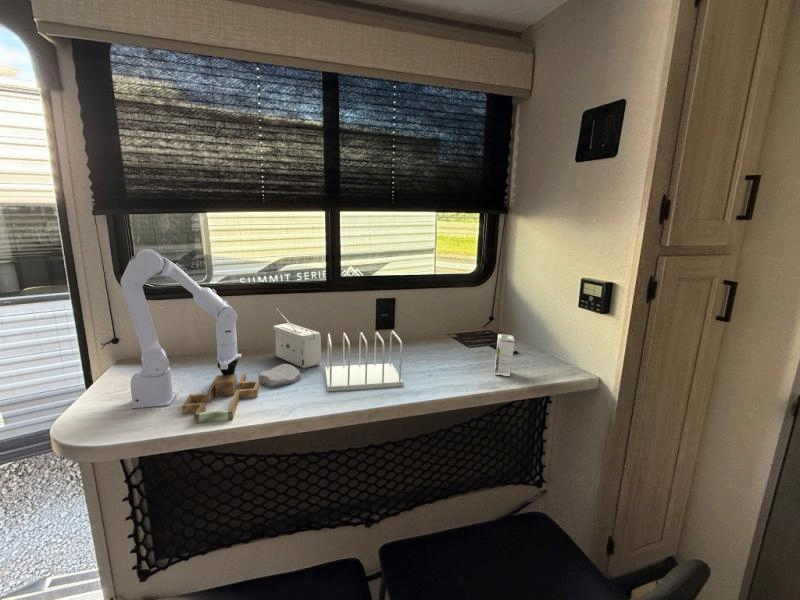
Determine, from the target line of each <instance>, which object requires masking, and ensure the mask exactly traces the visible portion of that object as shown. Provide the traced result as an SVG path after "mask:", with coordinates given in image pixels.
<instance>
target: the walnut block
mask: <svg viewBox="0 0 800 600" xmlns="http://www.w3.org/2000/svg"><path fill="white" fill-rule="evenodd" d="M218 375H219V377H218V379H217V381H216V383H215V387H216V392H215V397H216V398H219V397H221V398H222V397H231V396H232V397H234V395H235V392H236V390H238V383H237V382H238V380H237V379H238V378H237V374H235V373H234V374H233V375H221V374H218Z"/></svg>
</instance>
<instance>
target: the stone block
mask: <svg viewBox="0 0 800 600" xmlns="http://www.w3.org/2000/svg"><path fill="white" fill-rule="evenodd" d="M301 378H302V377H301V372H300V370H299V369H298V368H297V367H295V366H293V365H291V364H290V363H289V364H288V363H283V364H279V365H277V366H275V367H273V368H272V369H270V370H262V371H260V373H259V374H258V378H257V379H258V381H260V384H263V385H265V386H267V387H269V388H274V387H275V388H276V387H279V386H285V385H289V384H293V383H297V382H298V381H300V380H301Z"/></svg>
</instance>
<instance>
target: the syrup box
mask: <svg viewBox="0 0 800 600" xmlns="http://www.w3.org/2000/svg"><path fill="white" fill-rule="evenodd" d="M514 349H515V337H514V335H510V334H504V333H503V334H502V333H500V334H497V341H496V349H495V358H494V359H495V361H494V369H495V372H494V374H495V373H511V374H512V367H513V356H514V351H515V350H514Z"/></svg>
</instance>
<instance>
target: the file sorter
mask: <svg viewBox="0 0 800 600" xmlns="http://www.w3.org/2000/svg"><path fill="white" fill-rule="evenodd" d="M393 335H394V336H395V338H396V339H397V341H398V342H399V346H400V348H399V349H400V351H399V352H400V353H399V369H398V371H397V369H396V368H395V366H394V365H393V363H392V361H391V360H392V344H393V343H392V342H393ZM377 337H378V339H379V340H380V341H381V344H382V363H377V359H376V358H377ZM358 338H359V343H358V344H359V345H358V364H353V365H352V364H351V344H350V340H349V338H348V336H347V334H346V333H345V332H343V333H342V365H335V366H334V365H332V364H333V359H332V358H333V353H332V352H333V349H332V348H333V345H332V339H331V334H330V333H328V334H327V351H326V352H327V356H326V357H327V361H326V362H327V363H326V364H327V365H326V366H325V367H324V374H325V382H326V391H327V392H335V391H336V392H337V391H339V392H340V391H353V390H367V389H369V390H371V389H383V388H384V387H385V388H397V387H396V386H399V387H403V386H404V382H403V379H402V362H403V361H402V360H403V342H402V340H401V338H400V337H399V336H398V334H397V333H396V332H395V331H394V330H392V331H390V335H389V356H388V357H389V358H388V359H389V360H388V363H385V352H386V351H385V350H386V346H385V341H384V339H383V337H382V336H381V335H380V334H379V331H376V332H375V333H374V350H373V351H374V352H373V353H374V356H373V361H374V362H373V363H372V364H371V363H369V364H368V354H369V350H368V348H369V347H368V346H369V345H368V341H367V339H366V337H365V336H364V333H363V332H359V337H358ZM362 339H363V341H364V343H365V364H361V354H362V353H361V351H362ZM345 340H346V342H347V348H348V349H347V350H348V354H347V355H348V357H347V365H346V363H345V362H346V361H345V359H346V358H345V357H346V355H345V353H346V352H345V347H346V346H345V345H346V344H345Z"/></svg>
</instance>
